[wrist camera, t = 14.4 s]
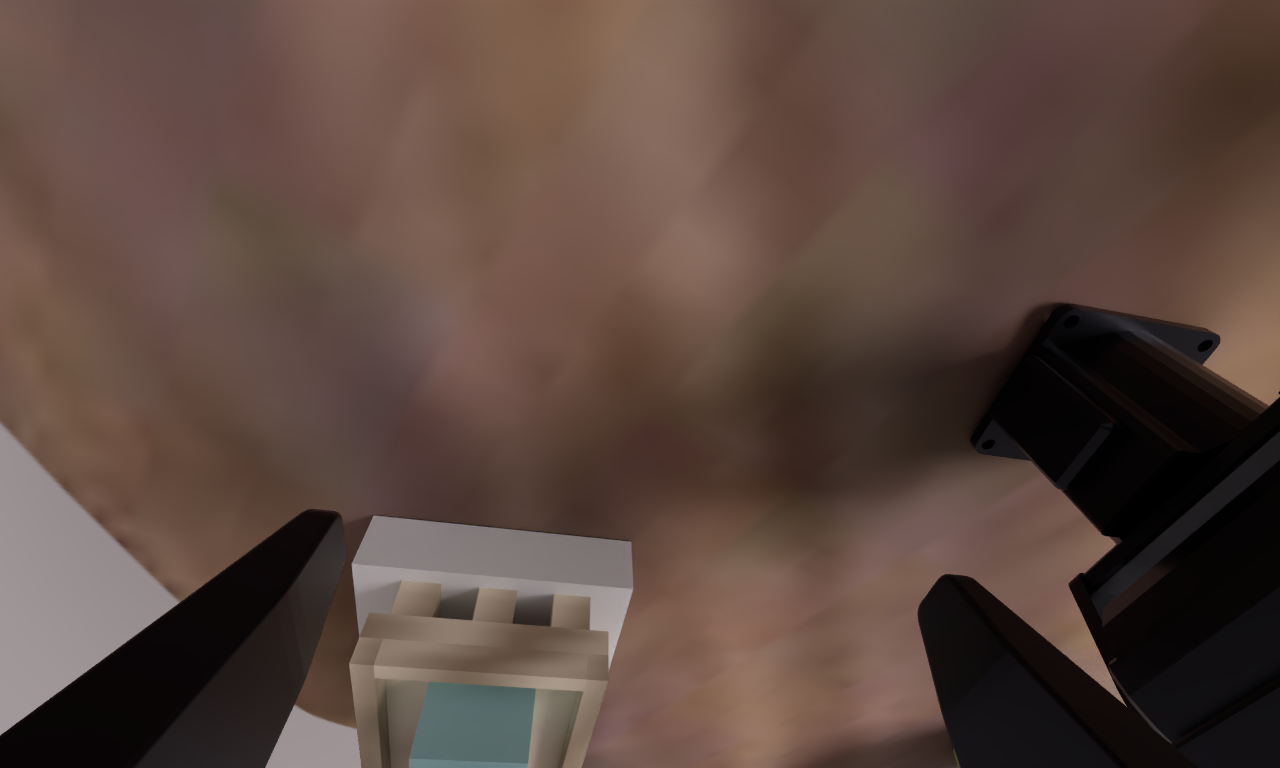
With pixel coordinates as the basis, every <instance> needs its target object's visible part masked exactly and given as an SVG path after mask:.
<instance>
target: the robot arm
mask: <svg viewBox="0 0 1280 768" xmlns="http://www.w3.org/2000/svg"><path fill="white" fill-rule="evenodd" d="M1070 316H1071V317H1070ZM1068 317H1070V319H1069V320H1068V321H1066V322H1065V320H1066V319H1067V318H1068ZM1219 344H1220V336H1219V335H1217V334H1215V333H1214V332H1212V331H1210V330H1208V329H1206V328H1201V327H1195V326H1190V325H1185V324H1179V323H1174V322H1168V321H1163V320H1157V319H1152V318H1147V317H1141V316H1136V315H1130V314H1125V313H1119V312H1114V311H1109V310H1103V309H1098V308H1092V307H1087V306H1082V305H1076V304H1065V305H1062V306H1060V307H1059V308H1057V309H1056V310H1055V311H1054V312H1053V313H1052V314H1051V316H1050V317H1049V319H1048V320H1047V322H1046V323H1045V325H1044V326H1043V328H1042V330H1041V331H1040V333H1039V334H1038V336H1037V337H1036V339H1035V340H1034V342H1033V343H1032V345H1031V346H1030V348H1029V349H1028V351H1027V353H1026V354H1025V356H1024V357H1023V359H1022V360H1021V362H1020V363H1019V365H1018V366H1017V368H1016V369H1015V371H1014V372H1013V374H1012V376H1011V377H1010V379H1009V380H1008V382H1007V383H1006V385H1005V386H1004V388H1003V389H1002V391H1001V392H1000V394H999V395H998V397H997V399H996V400H995V402H994V403H993V405H992V406H991V408H990V409H989V411H988V412H987V414H986V415H985V417H984V418H983V420H982V422H981V423H980V425H979V426H978V428H977V429H976V431H975V432H974V434H973V435H972V437H971V440H970V443H971V445H972V446H973V447H974V448H975V450H976V451H977V452H978V453H980V454H985V455H993V456H1000V457H1007V458H1015V459H1022V460H1029V461H1032V462H1033V463H1034V464H1035V466H1036V467H1037V468H1038V469H1039V470H1040V471H1041V472H1042V473H1043V474H1044V475H1045V476H1046V478H1047V479H1048V480H1049V481H1050V482H1051V483H1052V484H1053V485H1054V486H1055V487H1056V488H1058V489H1060V490H1061V491H1062V492H1063V493H1064V494H1065V495H1066V496H1067V497H1068V498H1069V499H1070V500H1071V501H1072V503H1073V504H1074V505H1075V506H1076V507H1077V508H1078V509H1079V510H1080V511H1081V512H1082V513H1083V514H1084V515H1085V517H1086V518H1087V519H1088V520H1089V521H1090V522H1091V523H1092V524H1093V525H1094V526H1095V527H1096V528H1097V530H1098V531H1099V532H1100V533H1101V534H1102V535H1104V536H1109V537H1110V538H1111V539H1112V540H1113V541H1114V542H1115V543H1116V545H1115V546H1114V547H1113V548H1112V549H1111V550H1110V551H1109V552H1108V553H1106V554H1105V555H1104V556H1103V557H1102V558H1101V559H1100V560H1099V561H1098V562H1097V563H1095V564H1094V565H1093V566H1092V567H1091V568H1090V569H1089V570H1088V571H1087V572H1085V573H1079V574H1078V575H1077V576H1076V577H1075V578H1074V579H1073V580H1072V581H1071V582H1070V583H1069V587H1070V590H1071V592H1072V594H1073V596H1074V598H1075V600H1076V602H1077V605H1078V607H1079V609H1080V611H1081V613H1082V615H1083V617H1084V619H1085V622H1086V624H1087V626H1088V628H1089V630H1090V632H1091V634H1092V637H1093V639H1094V641H1095V643H1096V645H1097V647H1098V649H1099V651H1100V654H1101V656H1102V658H1103V660H1104V662H1105V664H1106V666H1107V669H1108V671H1109V673H1110V675H1111V677H1112V679H1113V681H1114V684H1115V686H1116V688H1117V690H1118V692H1119V694H1120V695H1121V697H1122V699H1123V701H1124V702H1125V704H1126V706H1127V707H1126V706H1125V705H1124V704H1123V703H1122V702H1120V701H1119V700H1118V699H1117V698H1116V697H1114V696H1113V695H1112V694H1111V693H1110V692H1108V691H1107V690H1106V689H1105V688H1104V687H1102V686H1101V685H1100V684H1099V683H1098V682H1096V681H1095V680H1094V679H1093V678H1092V677H1090V676H1089V675H1088V674H1087V673H1086V672H1084V671H1083V670H1082V669H1081V668H1080V667H1078V666H1077V665H1076V664H1075V663H1074V662H1072V661H1071V660H1070V659H1069V658H1068V657H1067V656H1065V655H1064V654H1063V653H1062V652H1061V651H1059V650H1058V649H1057V648H1056V647H1055V646H1053V645H1052V644H1051V643H1050V642H1049V641H1047V640H1046V639H1045V638H1044V637H1043V636H1041V635H1040V634H1039V633H1038V632H1037V631H1035V630H1034V629H1033V628H1032V627H1031V626H1029V625H1028V624H1027V623H1026V622H1025V621H1023V620H1022V619H1021V618H1020V617H1019V616H1017V615H1016V614H1015V613H1014V612H1013V611H1012V610H1010V609H1009V608H1008V607H1007V606H1006V605H1004V604H1003V603H1002V602H1001V601H1000V600H998V599H997V598H996V597H995V596H994V595H992V594H991V593H990V592H989V591H988V590H986V589H985V588H984V587H983V586H982V585H980V584H979V583H978V582H977V581H976V580H974V579H973V578H971V577H968V576H962V575H953V574H945V575H943V576H941V577H940V578H939V579H938V580H937V582H936V583H935V584H934V586H933V587H932V588H931V590H930V591H929V592H928V594H927V595H926V596H925V598H924V599H923V600H922V602H921V603H920V605H919V608H918V622H919V626H920V630H921V634H922V638H923V642H924V646H925V650H926V654H927V658H928V662H929V665H930V669H931V673H932V677H933V681H934V685H935V689H936V693H937V697H938V701H939V705H940V708H941V712H942V715H943V719H944V722H945V725H946V728H947V731H948V734H949V737H950V740H951V743H952V746H953V749H954V751H955V754H956V757H957V760H958V763H959V766H960V768H1280V397H1279V398H1278V399H1277V400H1276V401H1275V402H1274V403H1272V404H1271V405H1270V406H1268V405H1267V404H1265V403H1263V402H1262V401H1260V400H1258V399H1257V398H1255V397H1254V396H1252V395H1250V394H1249V393H1247V392H1245V391H1244V390H1242V389H1241V388H1239V387H1237V386H1236V385H1234V384H1232V383H1231V382H1229V381H1228V380H1226V379H1224V378H1223V377H1221V376H1219V375H1218V374H1216V373H1214V372H1213V371H1211V370H1210V369H1208V368H1206V367H1205V366H1203V363H1204V362H1205V361H1206V360H1207V359H1208V358H1209V356H1210V355H1211V354H1212V353H1213V352H1214V351H1215V349H1216V348H1217V347H1218V345H1219ZM1278 393H1279V394H1280V392H1278ZM985 441H986V442H985ZM345 555H346V550H345V541H344V532H343V523H342V517H341V515H340V514H339V513H338V512H335V511H327V510H317V509H309V510H306V511H304V512H302V513H300V514H299V515H298V516H296V517H295V518H294V519H292V520H291V521H290V522H288V523H287V524H285V525H284V526H283V527H281V528H280V529H279V530H277V531H276V532H275V533H273V534H272V535H271V536H269V537H268V538H267V539H265V540H264V541H263V542H261V543H260V544H258V545H257V546H256V547H254V548H253V549H252V550H250V551H249V552H248V553H246V554H245V555H244V556H242V557H241V558H240V559H238V560H237V561H235V562H234V563H233V564H231V565H230V566H229V567H227V568H226V569H225V570H223V571H222V572H221V573H219V574H218V575H217V576H215V577H214V578H212V579H211V580H210V581H208V582H207V583H206V584H204V585H203V586H202V587H200V588H199V589H198V590H196V591H195V592H194V593H192V594H191V595H189V596H188V597H187V598H185V599H184V600H183V601H181V602H180V603H179V604H177V605H176V606H175V607H173V608H172V609H171V610H169V611H168V612H167V613H165V614H164V615H163V616H161V617H160V618H158V619H157V620H156V621H154V622H153V623H152V624H150V625H149V626H148V627H146V628H145V629H144V630H142V631H141V632H139V633H138V634H137V635H135V636H134V637H133V638H132V639H130V640H129V641H127V642H126V643H125V644H123V645H122V646H121V647H119V648H118V649H116V650H115V651H114V652H113V653H111V654H110V655H108V656H107V657H106V658H104V659H103V660H102V661H100V662H99V663H98V664H96V665H95V666H94V667H92V668H91V669H89V670H88V671H87V672H86V673H84V674H83V675H81V676H80V677H79V678H77V679H76V680H75V681H73V682H72V683H71V684H69V685H68V686H66V687H65V688H64V689H63V690H61V691H60V692H58V693H57V694H56V695H54V696H53V697H52V698H50V699H49V700H48V701H46V702H45V703H43V704H42V705H41V706H39V707H38V708H37V709H36V710H34V711H33V712H31V713H30V714H29V715H27V716H26V717H25V718H23V719H22V720H20V721H19V722H18V723H16V724H15V725H14V726H12V727H11V728H10V729H8V730H7V731H6V732H4V733H3V734H2V735H1V736H0V768H265V767H266V765H267V762H268V760H269V758H270V756H271V753H272V751H273V749H274V747H275V745H276V743H277V741H278V739H279V736H280V734H281V732H282V730H283V728H284V726H285V724H286V721H287V719H288V717H289V715H290V713H291V711H292V708H293V706H294V704H295V702H296V700H297V698H298V695H299V693H300V691H301V688H302V686H303V684H304V681H305V679H306V676H307V673H308V671H309V668H310V665H311V662H312V659H313V656H314V653H315V650H316V648H317V645H318V642H319V639H320V636H321V633H322V630H323V627H324V624H325V621H326V618H327V615H328V612H329V609H330V606H331V603H332V600H333V597H334V594H335V591H336V588H337V585H338V582H339V579H340V576H341V573H342V570H343V567H344V563H345Z"/></svg>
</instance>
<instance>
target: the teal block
mask: <svg viewBox="0 0 1280 768" xmlns="http://www.w3.org/2000/svg"><path fill="white" fill-rule="evenodd" d="M535 693H536V688H521V687H505V686H489V685H474V684H458V683H442V682H429V684H428V688H427V692H426V696H425V699H424V703H423V707H422V711H421V715H420V718H419V722H418V726H417V730H416V734H415V737H414V741H413V745H412V749H411V753H410V757H409V768H527V767H528V760H529V750H530V741H531V731H532V722H533V712H534V702H535Z"/></svg>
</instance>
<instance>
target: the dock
mask: <svg viewBox="0 0 1280 768" xmlns="http://www.w3.org/2000/svg"><path fill="white" fill-rule="evenodd" d="M352 572H353V581H354V591H355V600H356V610H357V619H358V629H359V637H360V635H361V632H362V629H363V627H364V624H365V622H366V619H367V617H368V614H369V612H371V613H384V614H390V613H391V611H392V608H393V605H394V602H395V599H396V596H397V594H398V591H399V588H400V585H401V582H402V580H403V581H414V582H425V583H437V584H441V614H440V618H447V619H459V620H473V616H474V611H475V606H476V602H477V597H478V593H479V588H480V587H482V588H493V589H505V590H516V591H517V597H516V604H515V611H514V618H513V624H522V625H534V626H547V627H548V624H549V619H550V614H551V608H552V603H553V598H554V594H562V595H573V596H584V597H591V599H590V630H597V631H608V658H609V668H610V664H611V661H612V658H613V654H614V651H615V648H616V644H617V641H618V638H619V635H620V631H621V628H622V625H623V621H624V618H625V615H626V611H627V608H628V605H629V602H630V598H631V595H632V592H633V571H632V548H631V542H630V541H620V540H610V539H600V538H590V537H580V536H571V535H561V534H551V533H541V532H531V531H521V530H512V529H502V528H492V527H482V526H472V525H462V524H453V523H443V522H433V521H423V520H413V519H403V518H394V517H384V516H373V518H372V520H371V522H370V525H369V527H368V529H367V531H366V533H365V536H364V538H363V540H362V542H361V544H360V547H359V549H358V551H357V553H356V555H355V558H354V560H353V562H352Z"/></svg>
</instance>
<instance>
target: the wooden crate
mask: <svg viewBox="0 0 1280 768" xmlns="http://www.w3.org/2000/svg"><path fill="white" fill-rule="evenodd" d="M516 597H517V591H516V590H505V589H493V588H482V587H480V588H479V593H478V597H477V602H476V606H475V611H474V616H473V620H459V619H447V618H440V614H441V584H437V583H425V582H414V581H403V580H402V582H401V585H400V588H399V591H398V594H397V596H396V599H395V602H394V605H393V608H392V611H391V613H390V614H384V613H371V612H369V614H368V617H367V619H366V622H365V624H364V627H363V629H362V632H361V635H360V637H359V640H358V642H357V645H356V647H355V650H354V653H353V655H352V658H351V660H350V663H349V667H350V675H351V683H352V692H353V700H354V708H355V717H356V725H357V732H358V741H359V750H360V758H361V766H362V768H409V757H410V753H411V749H412V745H413V741H414V737H415V734H416V730H417V726H418V722H419V718H420V715H421V711H422V707H423V703H424V699H425V696H426V692H427V688H428V684H429V682H442V683H458V684H474V685H489V686H505V687H521V688H536V693H535V702H534V712H533V722H532V731H531V741H530V750H529V760H528V767H527V768H581V767H582V764H583V761H584V758H585V755H586V751H587V748H588V745H589V742H590V739H591V735H592V732H593V729H594V726H595V723H596V719H597V716H598V713H599V710H600V707H601V704H602V700H603V697H604V694H605V691H606V688H607V684H608V681H609V658H608V631H597V630H590V599H591V597H584V596H573V595H562V594H554V598H553V603H552V608H551V614H550V619H549V624H548V627H547V626H534V625H522V624H513V618H514V611H515V604H516Z"/></svg>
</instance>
